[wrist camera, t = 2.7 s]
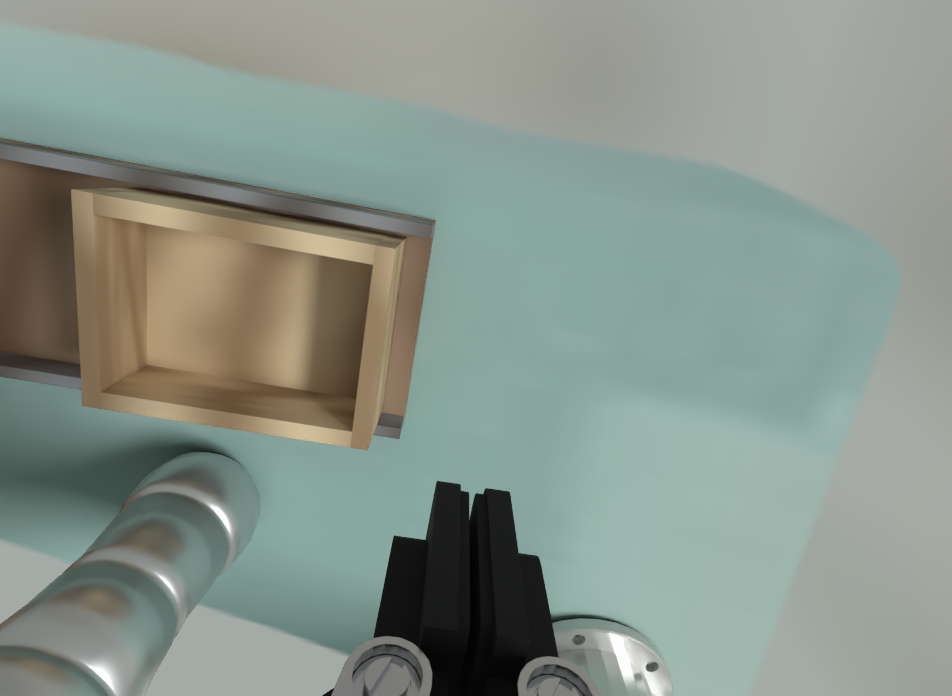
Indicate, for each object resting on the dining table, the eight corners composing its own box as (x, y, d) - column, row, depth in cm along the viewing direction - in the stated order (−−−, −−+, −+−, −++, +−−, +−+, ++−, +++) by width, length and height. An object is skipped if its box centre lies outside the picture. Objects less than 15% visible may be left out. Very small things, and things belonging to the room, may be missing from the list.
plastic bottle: (151, 518, 31) (-350, 1058, 12) (171, 421, 29) (-390, 884, 10) (258, 547, 32) (-53, 1099, 13) (284, 455, 30) (-37, 944, 11)
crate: (407, 237, 25) (395, 248, 21) (382, 408, 28) (367, 450, 24) (140, 187, 24) (71, 189, 20) (143, 369, 27) (82, 406, 23)
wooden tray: (435, 220, 26) (430, 227, 22) (404, 420, 29) (395, 454, 26) (-74, 124, 24) (-170, 114, 20) (-45, 348, 27) (-122, 374, 24)
